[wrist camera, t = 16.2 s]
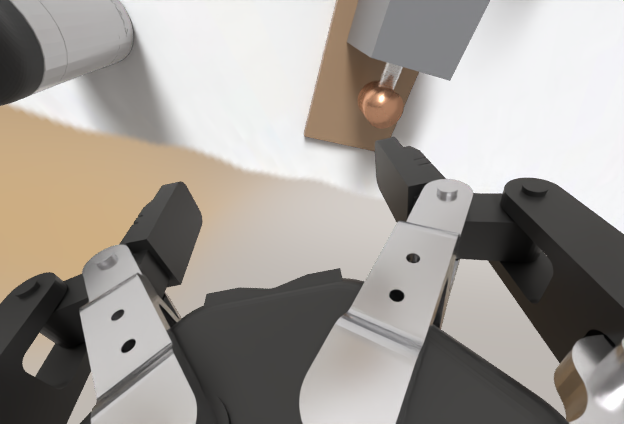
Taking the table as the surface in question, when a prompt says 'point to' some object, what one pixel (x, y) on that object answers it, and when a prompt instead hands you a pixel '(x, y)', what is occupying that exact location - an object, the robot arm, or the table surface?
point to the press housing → (384, 58)
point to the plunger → (382, 99)
